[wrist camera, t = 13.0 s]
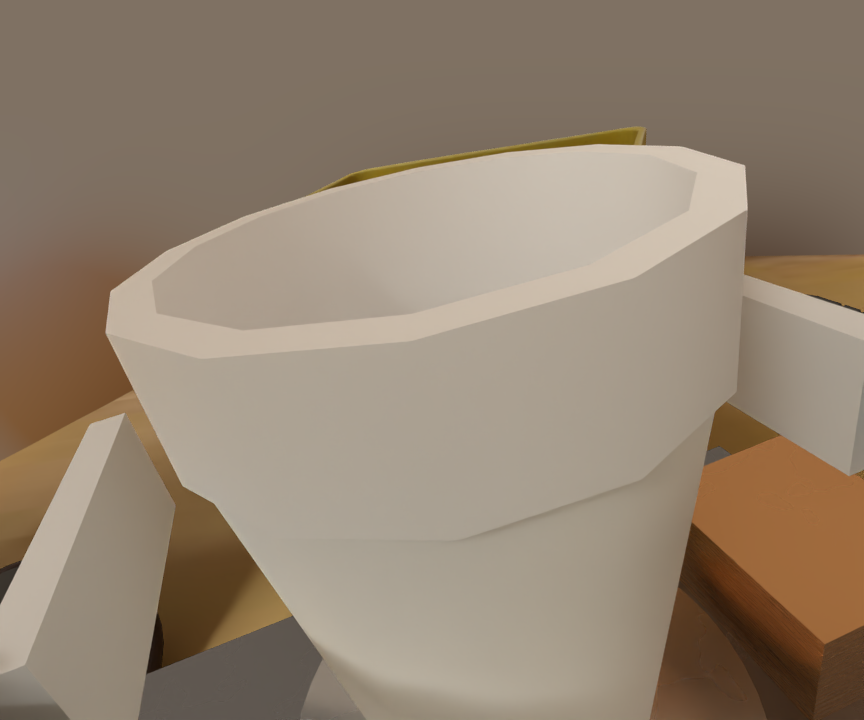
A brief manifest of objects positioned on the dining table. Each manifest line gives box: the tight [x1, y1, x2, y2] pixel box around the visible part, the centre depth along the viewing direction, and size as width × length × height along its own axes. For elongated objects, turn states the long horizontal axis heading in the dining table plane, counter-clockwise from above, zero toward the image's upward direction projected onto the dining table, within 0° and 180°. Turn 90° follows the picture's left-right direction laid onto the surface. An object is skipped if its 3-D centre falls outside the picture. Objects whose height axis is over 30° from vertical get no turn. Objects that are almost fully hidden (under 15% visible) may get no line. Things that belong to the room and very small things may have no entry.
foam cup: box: [106, 144, 747, 720], centre depth 12 cm, size 10×9×13 cm
